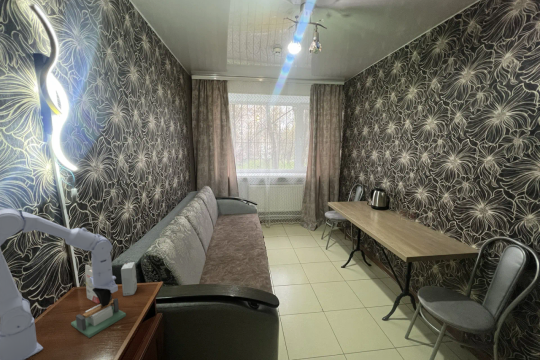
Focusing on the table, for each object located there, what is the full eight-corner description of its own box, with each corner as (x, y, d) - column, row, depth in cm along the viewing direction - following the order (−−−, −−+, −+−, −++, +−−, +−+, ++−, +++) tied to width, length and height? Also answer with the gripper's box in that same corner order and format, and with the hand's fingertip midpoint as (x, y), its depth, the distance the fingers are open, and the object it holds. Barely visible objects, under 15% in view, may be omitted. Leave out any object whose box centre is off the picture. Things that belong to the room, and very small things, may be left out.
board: (89, 337, 77) (87, 321, 76) (71, 325, 82) (69, 309, 82) (126, 315, 87) (125, 300, 87) (108, 305, 93) (107, 291, 92)
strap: (85, 318, 80) (85, 316, 80) (82, 316, 81) (82, 314, 81) (116, 302, 89) (116, 300, 89) (113, 300, 90) (113, 298, 89)
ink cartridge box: (110, 297, 98) (108, 264, 96) (97, 304, 94) (94, 269, 92) (99, 291, 102) (97, 259, 100) (86, 298, 98) (83, 264, 96)
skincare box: (134, 294, 100) (132, 267, 99) (122, 296, 99) (120, 269, 98) (137, 286, 106) (136, 261, 105) (126, 288, 105) (124, 262, 103)
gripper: (125, 269, 85) (127, 304, 86) (103, 260, 91) (106, 293, 93) (104, 278, 78) (107, 316, 80) (82, 268, 85) (85, 303, 87)
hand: (105, 304), depth 86 cm, fingers closed, pressing on strap
